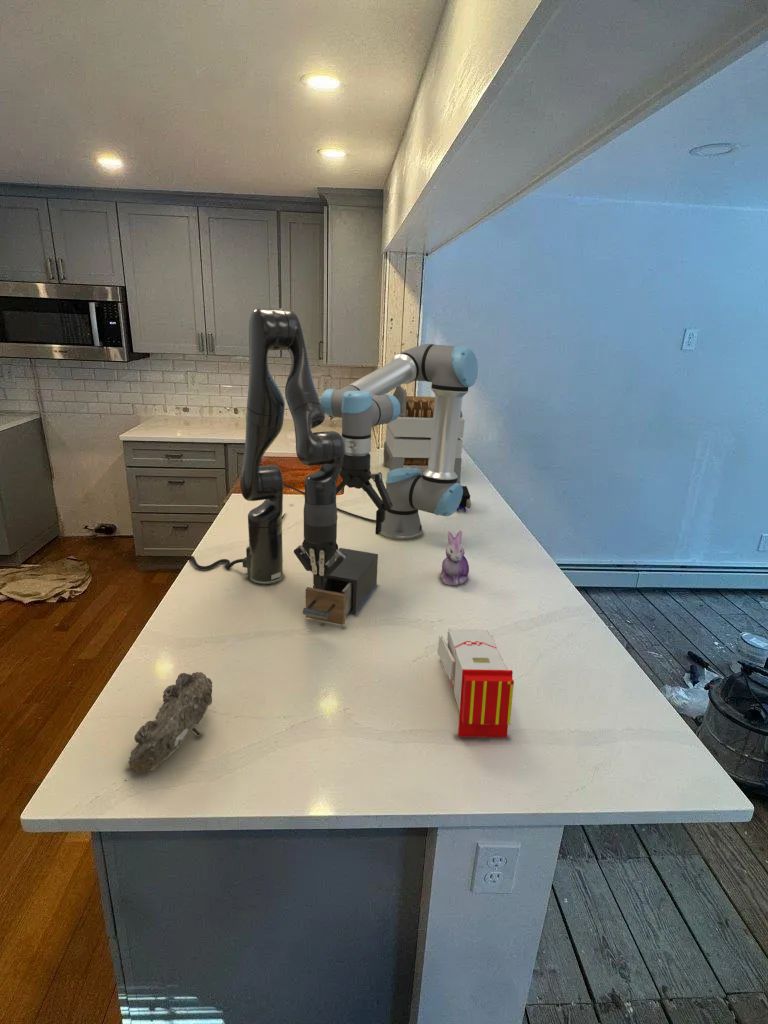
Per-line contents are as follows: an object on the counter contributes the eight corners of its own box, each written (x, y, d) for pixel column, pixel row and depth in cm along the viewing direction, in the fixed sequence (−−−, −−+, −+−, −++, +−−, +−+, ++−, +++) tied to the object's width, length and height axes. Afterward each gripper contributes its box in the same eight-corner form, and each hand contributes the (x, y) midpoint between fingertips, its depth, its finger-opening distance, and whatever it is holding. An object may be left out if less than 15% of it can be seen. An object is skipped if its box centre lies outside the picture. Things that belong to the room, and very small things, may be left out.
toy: (488, 613, 130) (523, 677, 101) (484, 667, 133) (517, 744, 104) (435, 612, 130) (455, 676, 101) (432, 666, 133) (451, 743, 103)
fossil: (162, 673, 113) (214, 640, 108) (196, 704, 116) (248, 673, 111) (102, 765, 93) (163, 730, 88) (145, 799, 96) (206, 767, 91)
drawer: (333, 638, 134) (334, 608, 131) (294, 629, 137) (294, 600, 134) (364, 595, 154) (365, 569, 151) (330, 589, 157) (330, 562, 154)
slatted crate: (382, 463, 289) (386, 382, 275) (445, 464, 293) (451, 384, 279) (390, 482, 257) (394, 392, 243) (460, 483, 261) (468, 394, 247)
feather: (292, 507, 224) (294, 503, 223) (275, 531, 197) (278, 527, 197) (288, 505, 224) (291, 501, 223) (271, 528, 197) (273, 524, 197)
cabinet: (355, 615, 146) (356, 580, 143) (315, 606, 149) (315, 572, 146) (376, 585, 162) (378, 553, 159) (339, 579, 165) (340, 547, 162)
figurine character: (470, 516, 223) (465, 500, 237) (473, 499, 220) (467, 484, 233) (453, 516, 223) (449, 500, 236) (455, 498, 220) (451, 483, 233)
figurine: (450, 589, 161) (455, 540, 156) (431, 574, 170) (435, 528, 165) (477, 583, 166) (482, 536, 161) (457, 569, 174) (462, 523, 169)
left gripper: (286, 520, 127) (287, 589, 133) (341, 529, 123) (340, 599, 129) (300, 510, 134) (301, 576, 139) (353, 518, 130) (351, 585, 136)
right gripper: (305, 450, 146) (306, 527, 153) (398, 461, 139) (394, 541, 146) (317, 444, 152) (317, 518, 160) (406, 454, 146) (402, 530, 153)
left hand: (320, 587), depth 134 cm, fingers closed
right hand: (354, 529), depth 153 cm, fingers open, 13 cm apart
